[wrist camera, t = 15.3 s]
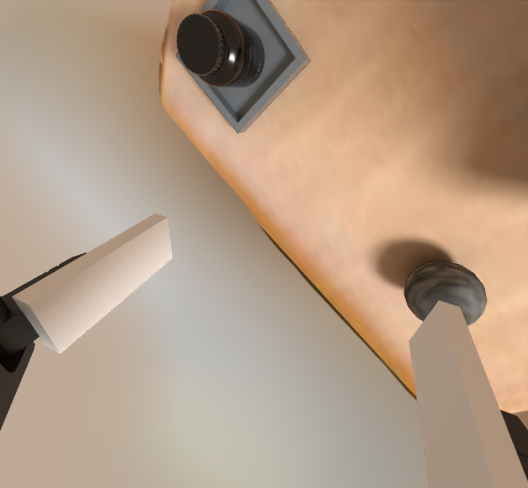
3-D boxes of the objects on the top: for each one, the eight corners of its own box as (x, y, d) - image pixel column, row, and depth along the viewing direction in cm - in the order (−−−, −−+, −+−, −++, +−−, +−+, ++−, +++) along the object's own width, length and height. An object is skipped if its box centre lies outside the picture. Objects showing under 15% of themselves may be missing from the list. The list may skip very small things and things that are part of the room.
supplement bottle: (214, 74, 36) (160, 66, 26) (229, 15, 32) (173, -20, 22) (254, 97, 36) (216, 98, 26) (275, 41, 32) (239, 18, 22)
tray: (245, -37, 29) (235, -48, 27) (310, 60, 32) (307, 58, 30) (187, 58, 36) (175, 55, 34) (244, 131, 39) (237, 133, 37)
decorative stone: (442, 306, 43) (461, 354, 35) (388, 282, 45) (394, 324, 36) (487, 265, 38) (523, 312, 30) (424, 239, 39) (441, 277, 31)
